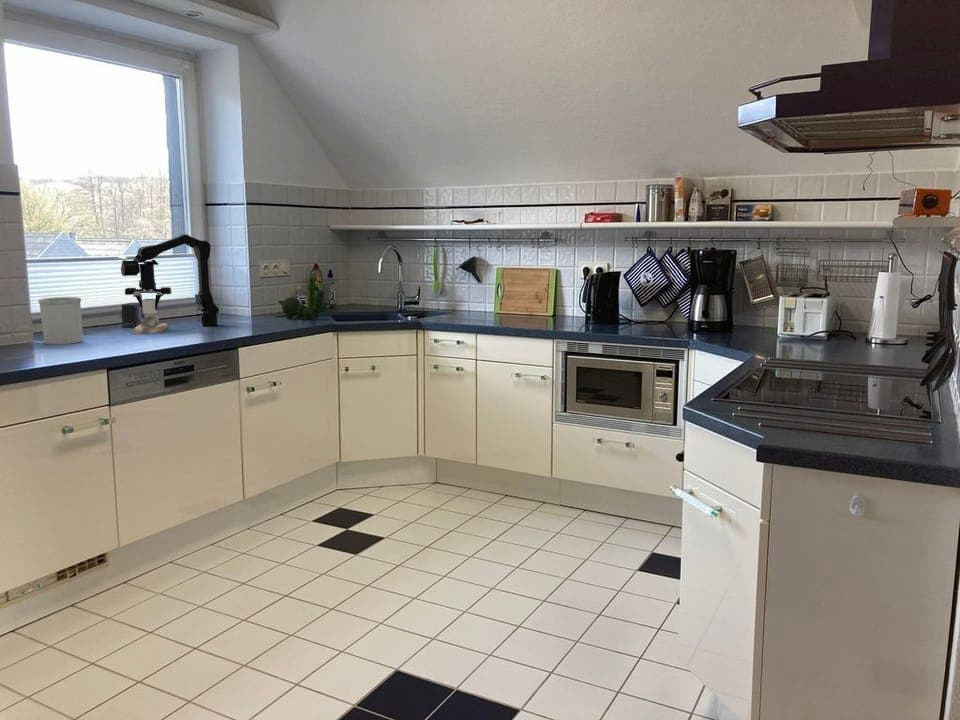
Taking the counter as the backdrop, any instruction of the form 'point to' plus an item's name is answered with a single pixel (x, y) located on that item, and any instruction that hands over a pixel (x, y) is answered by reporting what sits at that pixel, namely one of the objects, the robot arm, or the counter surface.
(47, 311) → the utensil holder
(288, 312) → the toy figurine
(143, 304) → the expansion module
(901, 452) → the counter surface
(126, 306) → the small box
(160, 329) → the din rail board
